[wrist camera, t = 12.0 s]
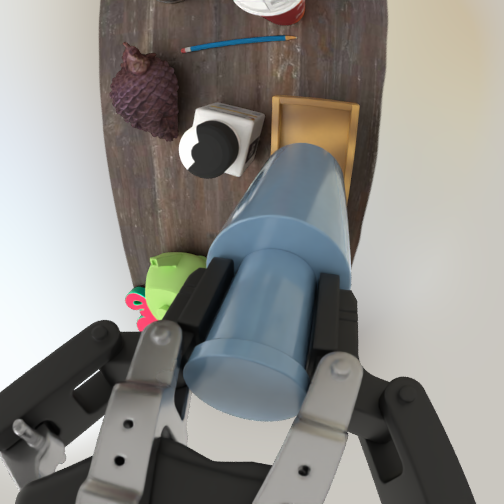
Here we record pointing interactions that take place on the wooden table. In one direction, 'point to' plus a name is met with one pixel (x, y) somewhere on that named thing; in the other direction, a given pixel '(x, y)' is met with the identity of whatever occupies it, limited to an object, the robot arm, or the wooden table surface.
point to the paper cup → (275, 10)
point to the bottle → (273, 286)
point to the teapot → (168, 279)
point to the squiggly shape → (140, 307)
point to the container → (221, 140)
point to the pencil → (237, 42)
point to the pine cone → (146, 93)
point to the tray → (317, 127)
